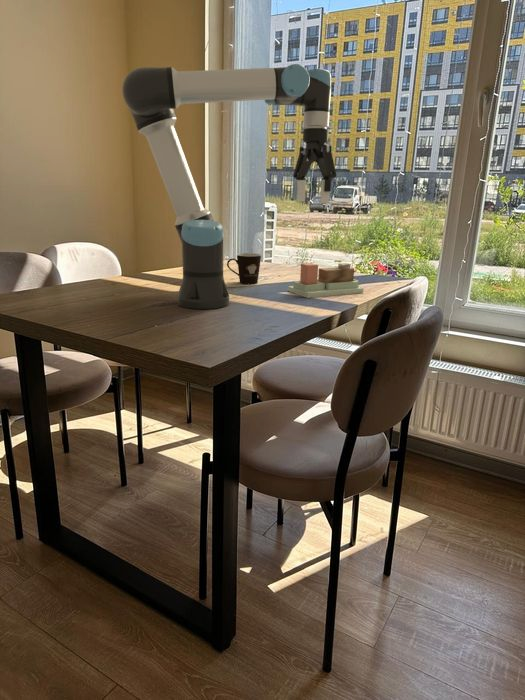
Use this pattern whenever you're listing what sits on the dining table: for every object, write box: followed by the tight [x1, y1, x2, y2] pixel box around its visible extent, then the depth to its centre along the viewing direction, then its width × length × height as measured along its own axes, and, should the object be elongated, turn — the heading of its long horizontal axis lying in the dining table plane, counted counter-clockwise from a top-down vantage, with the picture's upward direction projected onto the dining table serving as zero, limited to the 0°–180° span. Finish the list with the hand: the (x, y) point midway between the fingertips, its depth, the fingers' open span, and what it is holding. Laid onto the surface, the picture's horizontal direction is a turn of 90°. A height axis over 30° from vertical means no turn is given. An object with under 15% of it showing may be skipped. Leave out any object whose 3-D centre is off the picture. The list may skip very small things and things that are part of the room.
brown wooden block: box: [317, 262, 355, 289], centre depth 172 cm, size 11×4×8 cm, turn 114°
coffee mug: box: [226, 252, 262, 285], centre depth 183 cm, size 12×9×10 cm
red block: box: [299, 262, 319, 285], centre depth 167 cm, size 4×4×8 cm
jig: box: [287, 278, 364, 299], centre depth 172 cm, size 22×12×4 cm, turn 118°
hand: (312, 202), depth 160 cm, fingers open, 13 cm apart
